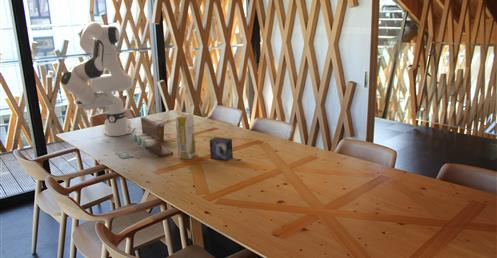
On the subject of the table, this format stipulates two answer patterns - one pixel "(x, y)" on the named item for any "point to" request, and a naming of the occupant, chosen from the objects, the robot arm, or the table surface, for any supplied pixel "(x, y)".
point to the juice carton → (185, 136)
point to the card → (124, 154)
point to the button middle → (139, 139)
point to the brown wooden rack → (154, 132)
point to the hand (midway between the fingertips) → (107, 109)
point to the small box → (221, 148)
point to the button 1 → (138, 136)
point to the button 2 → (149, 142)
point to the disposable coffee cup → (161, 128)
